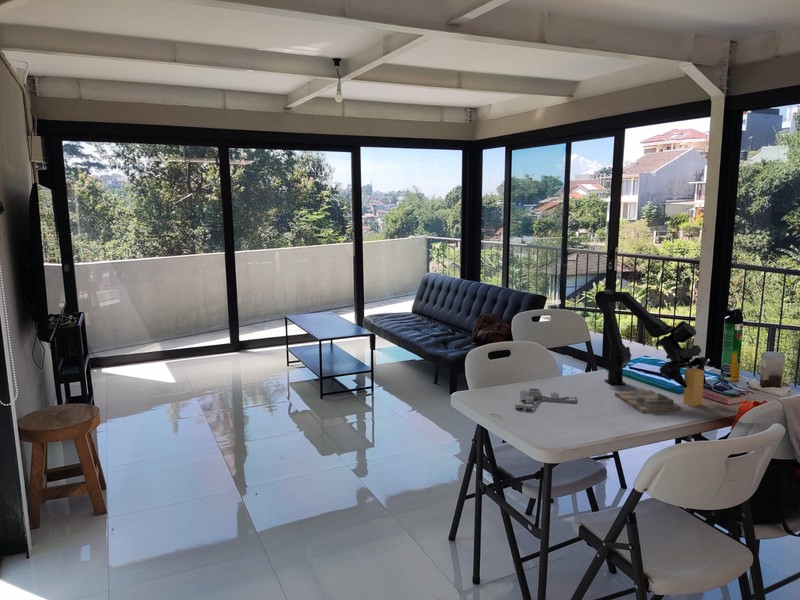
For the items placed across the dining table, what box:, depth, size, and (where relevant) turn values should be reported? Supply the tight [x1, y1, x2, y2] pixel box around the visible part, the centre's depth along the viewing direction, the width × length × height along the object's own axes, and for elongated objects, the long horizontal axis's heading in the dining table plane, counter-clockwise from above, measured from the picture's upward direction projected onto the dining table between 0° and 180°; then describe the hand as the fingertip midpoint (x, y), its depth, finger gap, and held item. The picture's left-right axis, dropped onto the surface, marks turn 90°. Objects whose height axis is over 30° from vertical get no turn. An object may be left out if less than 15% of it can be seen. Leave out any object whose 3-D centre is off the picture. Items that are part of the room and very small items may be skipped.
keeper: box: [614, 389, 682, 413], centre depth 221 cm, size 20×15×4 cm
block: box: [682, 367, 705, 407], centre depth 217 cm, size 4×4×13 cm
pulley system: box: [514, 387, 578, 410], centre depth 226 cm, size 27×5×15 cm
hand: (695, 385), depth 216 cm, fingers open, 9 cm apart
